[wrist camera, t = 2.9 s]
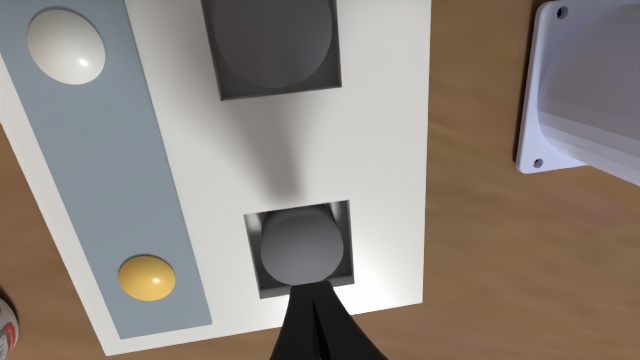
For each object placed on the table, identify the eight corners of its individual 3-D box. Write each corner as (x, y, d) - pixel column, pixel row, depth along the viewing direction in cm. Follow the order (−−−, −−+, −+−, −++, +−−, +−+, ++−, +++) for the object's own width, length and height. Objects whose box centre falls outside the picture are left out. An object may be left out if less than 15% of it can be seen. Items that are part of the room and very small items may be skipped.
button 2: (332, 190, 17) (340, 209, 15) (338, 254, 18) (346, 278, 16) (256, 201, 17) (254, 222, 15) (267, 265, 18) (267, 291, 16)
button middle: (318, -34, 12) (327, -45, 10) (327, 74, 14) (336, 81, 12) (211, -25, 12) (201, -35, 10) (231, 85, 13) (226, 94, 12)
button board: (401, -487, 10) (457, -705, 7) (401, 265, 20) (424, 306, 17) (-186, -502, 9) (-421, -777, 6) (129, 309, 19) (103, 361, 16)
